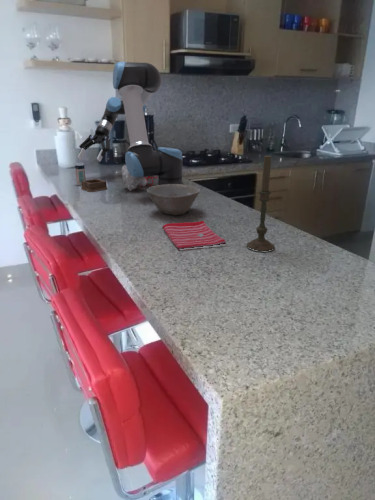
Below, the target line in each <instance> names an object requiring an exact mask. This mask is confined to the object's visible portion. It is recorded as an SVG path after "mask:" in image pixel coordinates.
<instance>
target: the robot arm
mask: <svg viewBox="0 0 375 500" xmlns="http://www.w3.org/2000/svg"><path fill="white" fill-rule="evenodd" d="M161 84H162V75H161V73H160V71H159V70H158V68H157V67H156V66H154V64H151V63H149V62H139V61H138V62H135V61H134V62H131V61H117V62H115V64H114V66H113V71H112V86H113V89H115V90H117V92H118V95H119V96H120V97H121V98H122V100H120V98H119V97H117V96H111V97H109V98H108V100H107V102H106V104H105V109H104V113H103V115H102V117H101V119H100V121H99V123H98V125H97V127H96V129H95V130H94V134H93V135H92V134H89V135H88V137H87V138H86V139H85V140H83V142H82V143H80V144H79V146H78V147H79V148H80V150H79V154H78V155H77V158H78V159H79V160H80V161H82V160H83V158H84V155H85V154H86V152H87V150H88V149H89V148H90V147H91V146H94V145H96V144H99V145H101V148H102V149H100V151H99V153H98V155H97V157H96V160H97V162H98V163H101V161H102V159H103V157H104V156H105V155H106V153H107V152H109V153H110V151H111V138H110V136H109V135H110V133H111V131H112V128H113V127H114V124H115V122H116V121H117V119H118V118H119V117H118V116H119V115H125V120H126V121H125V122H126V125H127V126H126V127H127V133H128V139H129V147H128V148H127V152H125V156H124V159H125V165H126V166H127V169H128V172H129V173H130V175H131V176H133V177H146V178H148V177H147V176H150V177H153V176H154V177H157V176H158V177H157V179H158V181H157V184H156V185H164V184H166V185H167V184H171V185H172V184H182V185H184V182H183V181H184V180H183V152H182V150H180V149H178V148H173V147H164V146H159V147H157V150H154V147H153V145H152V144H151V143H149V139H148V138H149V137H148V132H147V126H146V120H145V113H146V103H147V102H148V100H149V99H150V98H151V96H152V95H154V93H156V92H157V91H158V90H159V89H160V87H161Z"/></svg>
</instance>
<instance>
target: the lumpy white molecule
mask: <svg viewBox="0 0 375 500" xmlns="http://www.w3.org/2000/svg"><path fill="white" fill-rule="evenodd" d="M121 176H122V177H121V178H122V181H123V182H122V184H123V185H126V187H127V190H129V192H131V191H134V190H135V189H137V186H140V187H146V186H147V185H148V186H149V187H152V186H153V184H154V180H153V179H158V176H147V177H133V176H131V175H130V173H129V172H128V169H127V166H126V164H124V165H123V166H122V167H121ZM149 179H151V180H150V181H149ZM150 182H152V183H151V184H148V183H150Z"/></svg>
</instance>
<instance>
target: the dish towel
mask: <svg viewBox="0 0 375 500" xmlns="http://www.w3.org/2000/svg"><path fill="white" fill-rule="evenodd" d="M163 229H164V230H163ZM162 230H163V231H165V232H166V233H165V232H164V233H165V235H166V236H167V235H168V236H167V238H168V239H169V238H170V239H171V240H170V239H169V240H170V242H171V241H172V242H173V243H174V244H175V246H174V247H175V248H176V247H177V248H178V249H184V248H194V247H203V246H213V245H220V244H226V245H227V242H226V240H225V238H223V237H221V236H219V235H218V234H217V233H215V232H214V231H213V230H212V229H211V228H210V226H208V225H207V223H205V221H204V220H201V221H193V222H191V221H190V222H172V223H165V224H163V225H162ZM199 234H203V235H204V236H202V237H200V236H197V235H199ZM172 242H171V243H172ZM173 243H172V244H173ZM174 244H173V245H174ZM177 248H176V249H177ZM178 249H177V250H178Z"/></svg>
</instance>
